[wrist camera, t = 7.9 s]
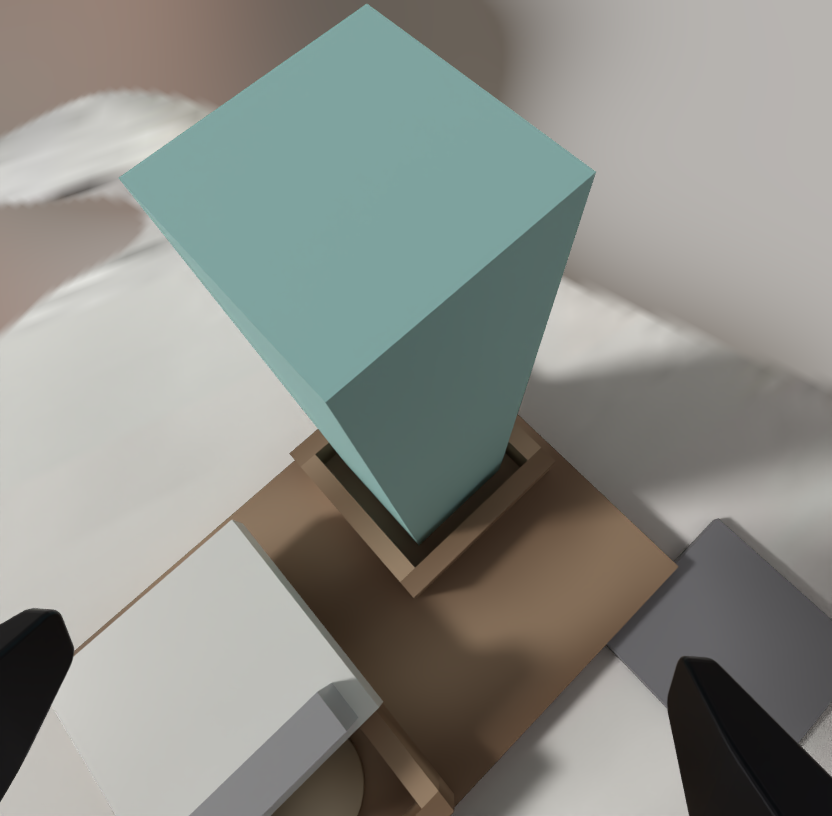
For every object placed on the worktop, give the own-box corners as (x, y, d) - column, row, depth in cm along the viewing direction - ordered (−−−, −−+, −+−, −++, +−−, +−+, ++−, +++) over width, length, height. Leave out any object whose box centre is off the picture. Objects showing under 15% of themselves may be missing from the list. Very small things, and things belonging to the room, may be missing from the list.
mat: (861, 653, 19) (870, 654, 18) (748, 792, 18) (754, 796, 17) (713, 519, 20) (718, 518, 20) (601, 639, 19) (604, 640, 19)
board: (668, 568, 20) (696, 563, 18) (272, 990, 17) (242, 1053, 14) (437, 348, 23) (435, 319, 21) (73, 664, 20) (23, 673, 18)
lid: (383, 701, 17) (369, 720, 14) (189, 894, 16) (135, 954, 13) (243, 523, 19) (208, 510, 16) (62, 681, 18) (-8, 695, 15)
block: (499, 469, 20) (595, 172, 6) (418, 545, 20) (325, 403, 6) (425, 395, 22) (366, 3, 7) (346, 464, 21) (118, 177, 7)
